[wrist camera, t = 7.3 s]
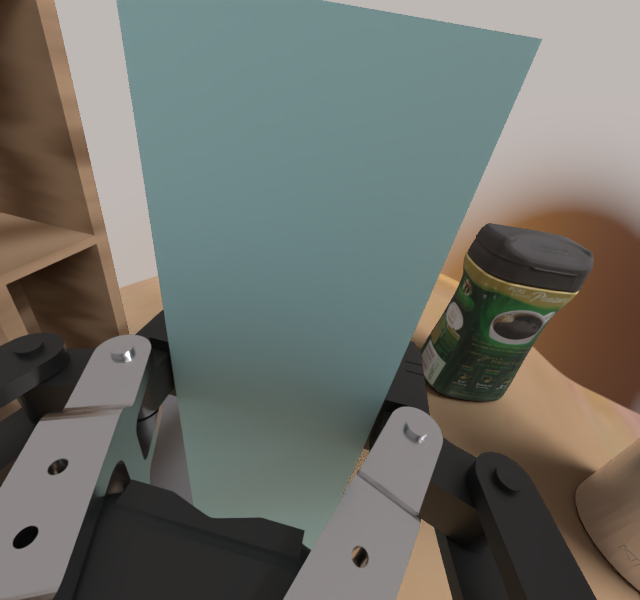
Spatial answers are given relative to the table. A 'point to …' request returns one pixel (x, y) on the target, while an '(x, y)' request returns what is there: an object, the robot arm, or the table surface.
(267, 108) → the teal rectangular block
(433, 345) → the coffee jar
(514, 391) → the table surface
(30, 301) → the cabinet
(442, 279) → the table surface
